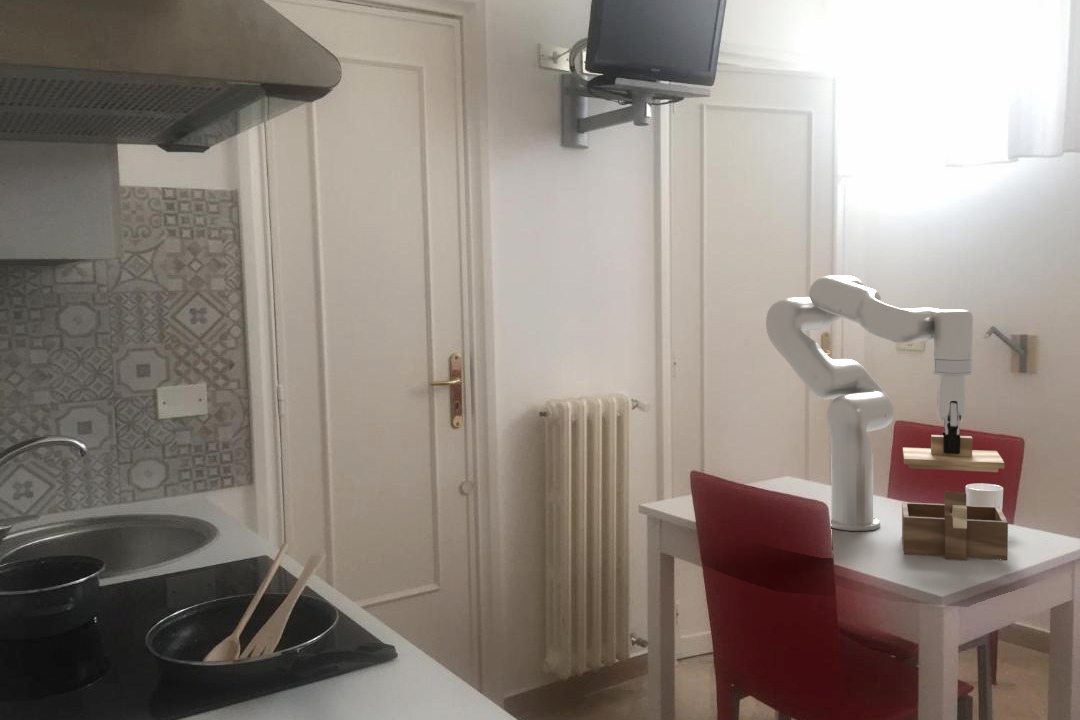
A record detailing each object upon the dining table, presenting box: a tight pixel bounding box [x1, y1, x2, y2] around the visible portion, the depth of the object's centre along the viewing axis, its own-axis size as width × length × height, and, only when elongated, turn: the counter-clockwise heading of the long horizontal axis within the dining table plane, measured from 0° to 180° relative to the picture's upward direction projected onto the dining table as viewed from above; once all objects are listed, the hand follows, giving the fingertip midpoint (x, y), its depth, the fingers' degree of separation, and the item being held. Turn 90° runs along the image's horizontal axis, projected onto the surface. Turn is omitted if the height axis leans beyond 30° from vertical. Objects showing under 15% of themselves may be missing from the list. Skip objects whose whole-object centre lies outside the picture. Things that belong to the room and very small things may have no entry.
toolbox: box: [901, 490, 1009, 562], centre depth 200 cm, size 16×20×14 cm
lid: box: [902, 434, 1005, 473], centre depth 201 cm, size 13×19×6 cm
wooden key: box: [952, 505, 967, 529], centre depth 186 cm, size 9×2×4 cm, turn 160°
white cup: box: [965, 482, 1004, 511], centre depth 216 cm, size 8×8×10 cm
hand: (951, 451), depth 201 cm, fingers closed on lid, 2 cm apart
